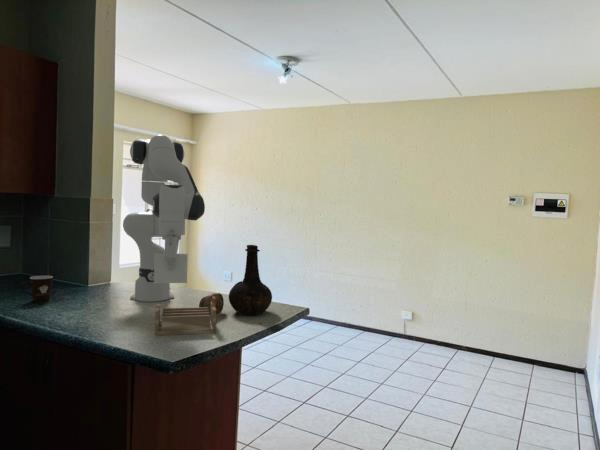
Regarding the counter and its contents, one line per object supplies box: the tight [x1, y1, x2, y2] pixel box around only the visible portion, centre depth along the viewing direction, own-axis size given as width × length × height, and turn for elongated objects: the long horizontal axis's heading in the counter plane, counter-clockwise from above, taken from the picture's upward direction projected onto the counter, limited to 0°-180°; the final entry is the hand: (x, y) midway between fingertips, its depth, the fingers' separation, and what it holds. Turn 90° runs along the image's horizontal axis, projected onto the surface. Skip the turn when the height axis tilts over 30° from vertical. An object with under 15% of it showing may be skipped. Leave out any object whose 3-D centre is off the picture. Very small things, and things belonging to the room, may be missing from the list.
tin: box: [198, 292, 225, 316], centre depth 177 cm, size 15×3×8 cm, turn 160°
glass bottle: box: [228, 244, 273, 316], centre depth 184 cm, size 18×18×28 cm
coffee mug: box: [19, 275, 54, 303], centre depth 192 cm, size 12×9×10 cm
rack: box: [154, 296, 217, 336], centre depth 158 cm, size 13×20×11 cm, turn 105°
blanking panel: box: [154, 253, 189, 284], centre depth 156 cm, size 2×11×10 cm, turn 104°
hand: (171, 269), depth 156 cm, fingers closed on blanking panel, 2 cm apart
